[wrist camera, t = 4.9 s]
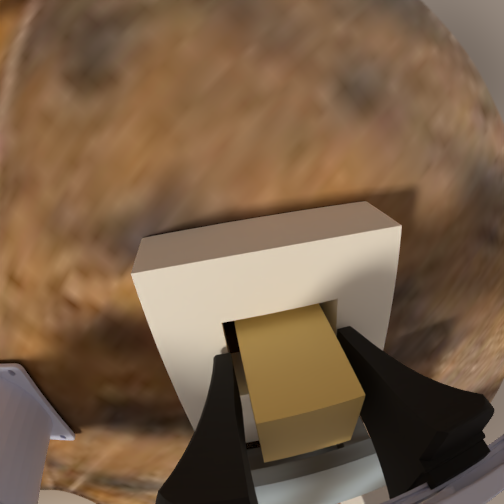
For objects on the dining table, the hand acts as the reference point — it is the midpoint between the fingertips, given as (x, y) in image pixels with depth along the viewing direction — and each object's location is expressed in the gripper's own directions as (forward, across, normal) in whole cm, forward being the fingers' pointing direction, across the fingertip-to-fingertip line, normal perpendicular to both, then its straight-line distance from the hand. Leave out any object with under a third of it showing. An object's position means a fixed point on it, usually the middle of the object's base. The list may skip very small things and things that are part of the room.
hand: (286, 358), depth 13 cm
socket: (+3, 0, +1) cm, 3 cm away
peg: (+3, 0, 0) cm, 3 cm away
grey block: (+3, 0, +10) cm, 11 cm away
